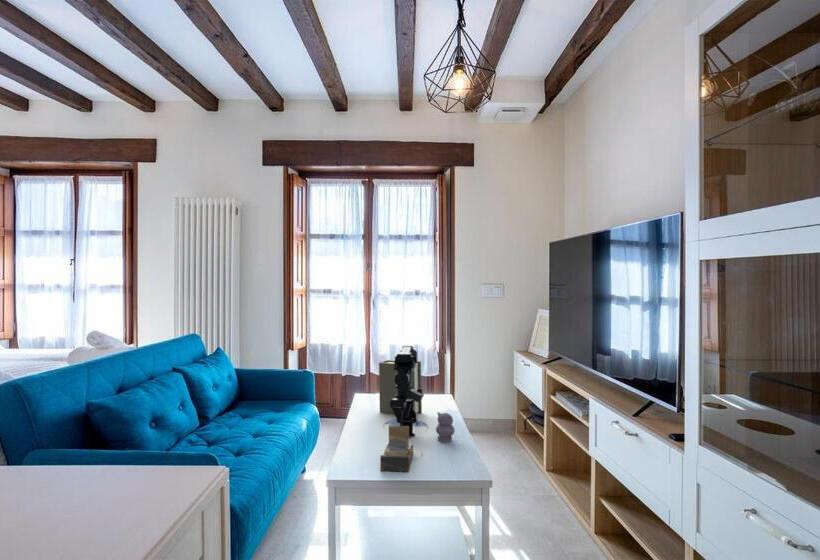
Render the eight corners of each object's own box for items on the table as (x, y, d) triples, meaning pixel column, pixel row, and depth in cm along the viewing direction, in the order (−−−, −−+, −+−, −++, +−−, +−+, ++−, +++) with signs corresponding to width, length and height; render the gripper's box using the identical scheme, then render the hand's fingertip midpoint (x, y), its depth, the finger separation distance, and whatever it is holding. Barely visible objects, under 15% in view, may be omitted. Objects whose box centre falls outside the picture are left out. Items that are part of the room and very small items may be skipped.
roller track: (387, 452, 171) (387, 439, 171) (413, 453, 170) (413, 440, 170) (380, 471, 154) (380, 456, 154) (408, 472, 153) (408, 457, 153)
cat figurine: (458, 440, 185) (458, 413, 185) (447, 445, 179) (447, 417, 179) (442, 435, 190) (443, 409, 190) (432, 440, 184) (432, 413, 184)
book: (378, 413, 223) (377, 361, 224) (387, 408, 232) (386, 358, 232) (414, 418, 214) (413, 364, 214) (421, 413, 222) (420, 361, 223)
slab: (389, 450, 166) (389, 425, 166) (408, 451, 165) (409, 426, 165) (386, 456, 160) (386, 430, 160) (407, 457, 159) (407, 431, 159)
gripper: (415, 387, 165) (414, 427, 164) (427, 380, 183) (427, 416, 182) (389, 385, 168) (388, 425, 167) (403, 379, 186) (403, 414, 185)
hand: (403, 420), depth 175 cm, fingers open, 9 cm apart
